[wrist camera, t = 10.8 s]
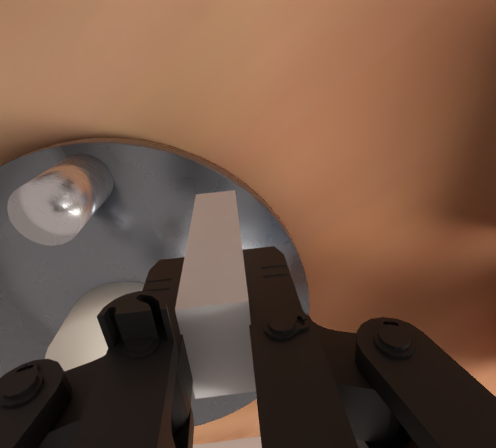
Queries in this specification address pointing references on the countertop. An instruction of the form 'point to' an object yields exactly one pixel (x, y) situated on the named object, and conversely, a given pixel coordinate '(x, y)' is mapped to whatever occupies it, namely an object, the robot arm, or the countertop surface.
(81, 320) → the cream donut
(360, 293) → the countertop surface
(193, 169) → the turntable
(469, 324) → the countertop surface
